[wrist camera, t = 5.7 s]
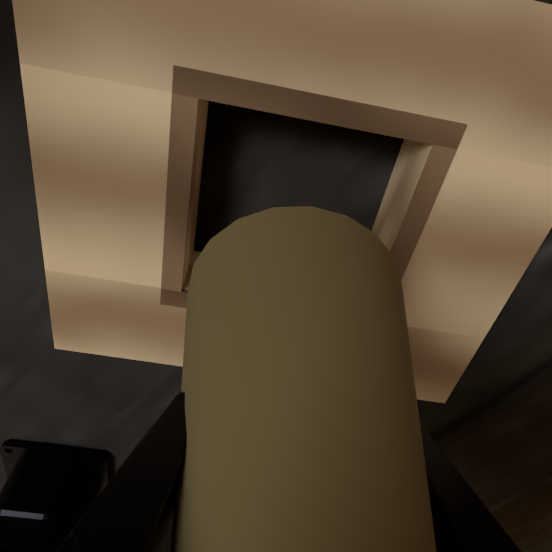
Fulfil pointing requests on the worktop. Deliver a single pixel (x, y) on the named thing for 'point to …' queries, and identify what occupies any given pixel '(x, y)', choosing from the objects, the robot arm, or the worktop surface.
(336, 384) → the cork
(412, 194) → the socket board
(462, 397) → the worktop surface
